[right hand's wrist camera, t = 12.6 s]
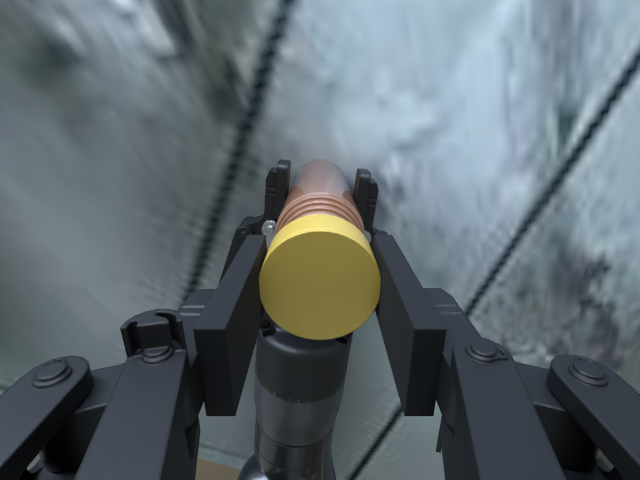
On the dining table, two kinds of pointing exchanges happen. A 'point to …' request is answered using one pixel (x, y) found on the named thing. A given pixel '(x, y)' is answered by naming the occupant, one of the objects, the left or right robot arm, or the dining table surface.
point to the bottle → (319, 195)
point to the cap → (319, 278)
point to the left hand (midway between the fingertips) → (323, 167)
